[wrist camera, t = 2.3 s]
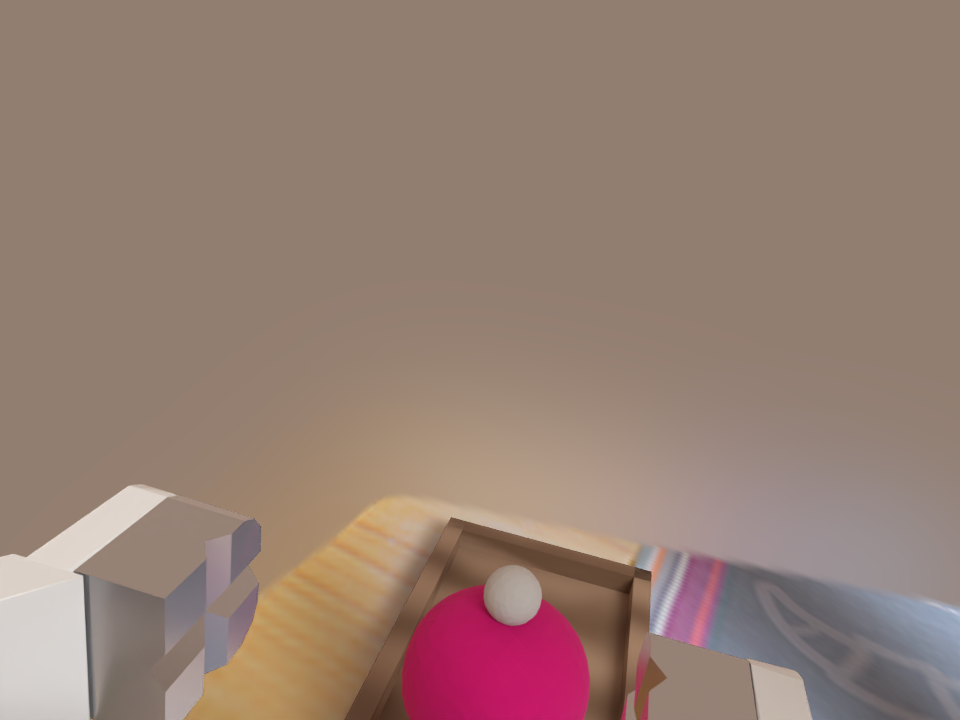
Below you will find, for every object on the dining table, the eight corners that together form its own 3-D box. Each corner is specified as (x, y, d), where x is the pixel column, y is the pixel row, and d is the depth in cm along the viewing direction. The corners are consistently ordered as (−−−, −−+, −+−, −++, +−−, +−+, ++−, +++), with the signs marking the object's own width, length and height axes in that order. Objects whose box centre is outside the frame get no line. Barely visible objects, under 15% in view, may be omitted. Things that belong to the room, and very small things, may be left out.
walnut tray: (446, 545, 56) (450, 517, 56) (643, 599, 54) (651, 571, 53) (312, 811, 35) (316, 773, 34) (626, 921, 33) (638, 883, 32)
